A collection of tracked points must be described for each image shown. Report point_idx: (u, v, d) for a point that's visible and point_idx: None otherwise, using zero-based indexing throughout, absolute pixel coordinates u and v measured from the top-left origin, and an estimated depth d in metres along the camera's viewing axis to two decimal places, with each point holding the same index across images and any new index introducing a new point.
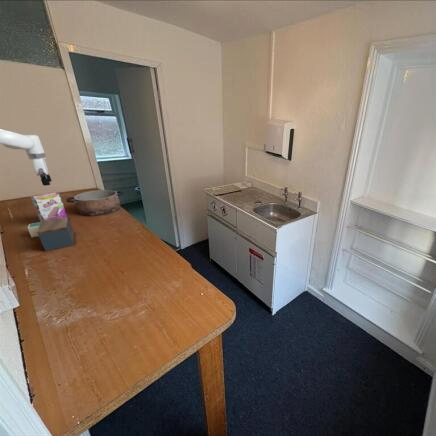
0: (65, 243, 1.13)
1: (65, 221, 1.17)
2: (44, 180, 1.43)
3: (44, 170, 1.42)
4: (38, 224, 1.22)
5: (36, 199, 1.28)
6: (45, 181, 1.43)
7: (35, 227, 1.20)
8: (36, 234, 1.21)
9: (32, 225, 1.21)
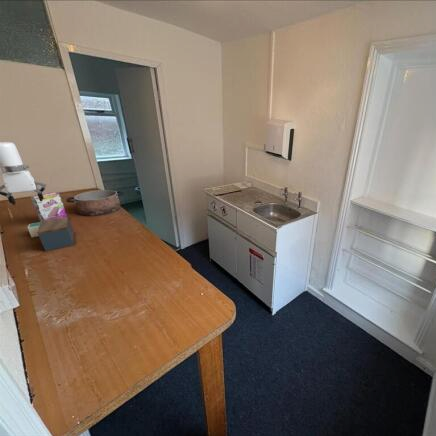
0: (65, 243, 1.13)
1: (65, 221, 1.17)
2: None
3: (5, 187, 1.11)
4: (38, 224, 1.22)
5: (36, 199, 1.28)
6: None
7: (35, 227, 1.20)
8: (36, 234, 1.21)
9: (32, 225, 1.21)
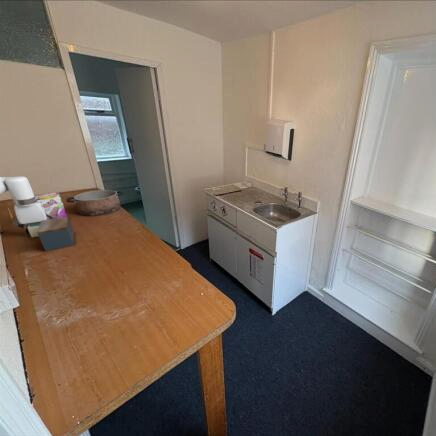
0: (65, 243, 1.13)
1: (65, 221, 1.17)
2: None
3: (17, 218, 1.16)
4: (38, 224, 1.22)
5: None
6: None
7: (35, 227, 1.20)
8: (36, 234, 1.21)
9: (32, 225, 1.21)
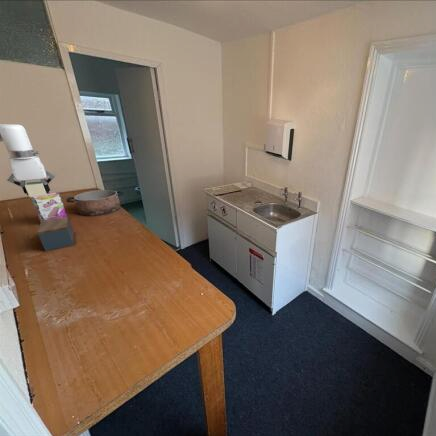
0: (65, 243, 1.13)
1: (65, 221, 1.17)
2: None
3: (13, 174, 1.01)
4: (37, 183, 1.07)
5: (36, 199, 1.28)
6: None
7: (33, 185, 1.05)
8: (35, 194, 1.06)
9: (30, 183, 1.06)
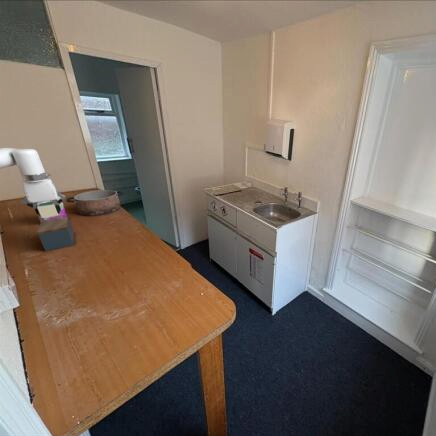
0: (65, 243, 1.13)
1: (65, 221, 1.17)
2: None
3: (26, 196, 1.04)
4: (49, 204, 1.10)
5: None
6: None
7: (45, 206, 1.08)
8: (46, 214, 1.09)
9: (42, 204, 1.09)
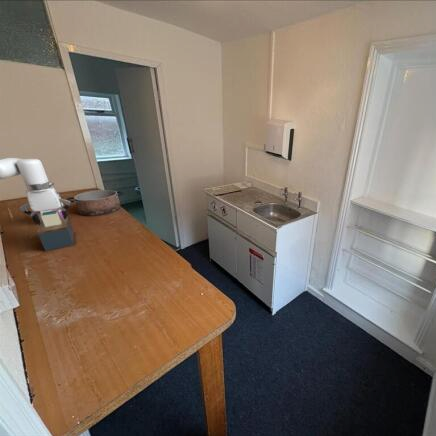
0: (65, 243, 1.13)
1: (65, 221, 1.17)
2: None
3: (29, 205, 1.06)
4: (52, 213, 1.12)
5: None
6: None
7: (49, 216, 1.10)
8: (50, 223, 1.11)
9: (46, 213, 1.11)
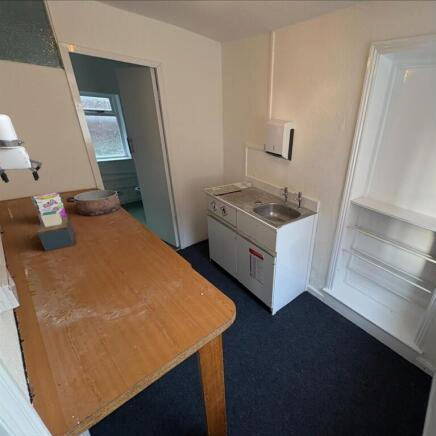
0: (65, 243, 1.13)
1: (65, 221, 1.17)
2: None
3: None
4: (52, 213, 1.12)
5: (36, 199, 1.28)
6: None
7: (49, 216, 1.10)
8: (50, 223, 1.11)
9: (46, 213, 1.11)
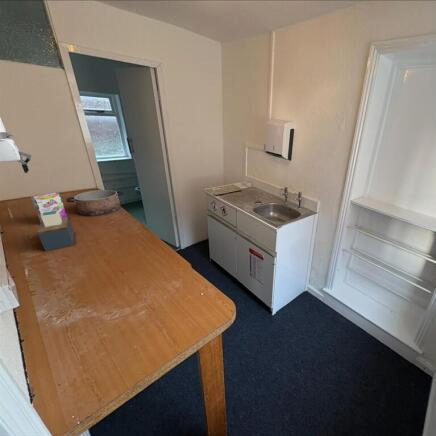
0: (65, 243, 1.13)
1: (65, 221, 1.17)
2: None
3: None
4: (52, 213, 1.12)
5: (36, 199, 1.28)
6: None
7: (49, 216, 1.10)
8: (50, 223, 1.11)
9: (46, 213, 1.11)
